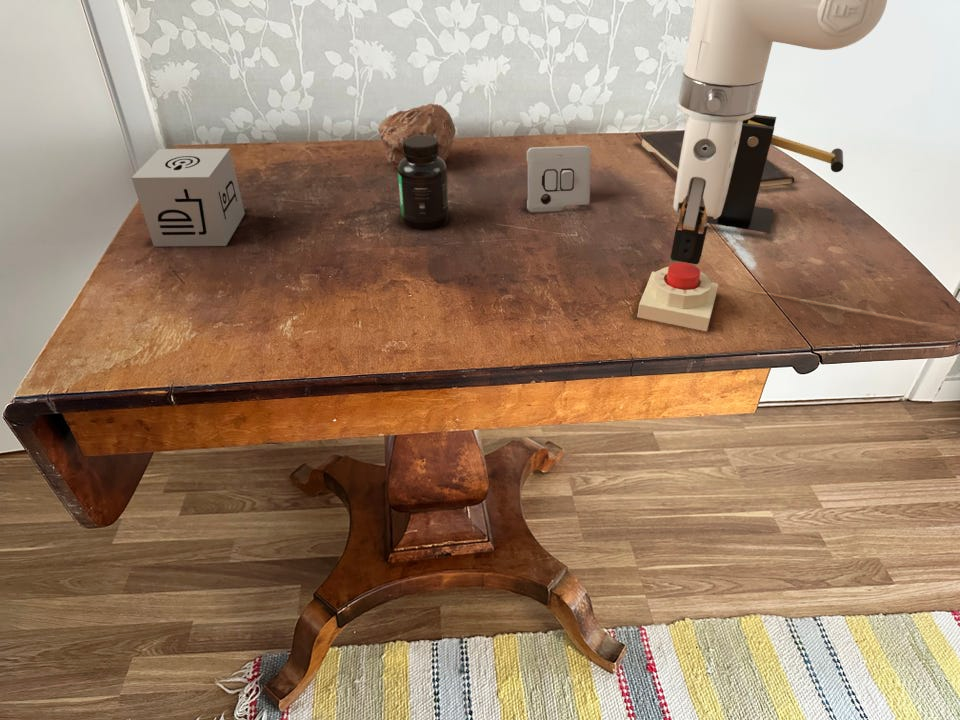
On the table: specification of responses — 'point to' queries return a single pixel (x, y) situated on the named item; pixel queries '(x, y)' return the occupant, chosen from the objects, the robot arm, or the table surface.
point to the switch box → (678, 302)
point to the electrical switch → (558, 177)
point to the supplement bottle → (422, 184)
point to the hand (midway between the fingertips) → (685, 258)
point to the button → (683, 276)
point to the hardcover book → (671, 146)
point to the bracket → (748, 178)
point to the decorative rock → (416, 130)
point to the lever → (809, 151)
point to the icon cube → (189, 197)
